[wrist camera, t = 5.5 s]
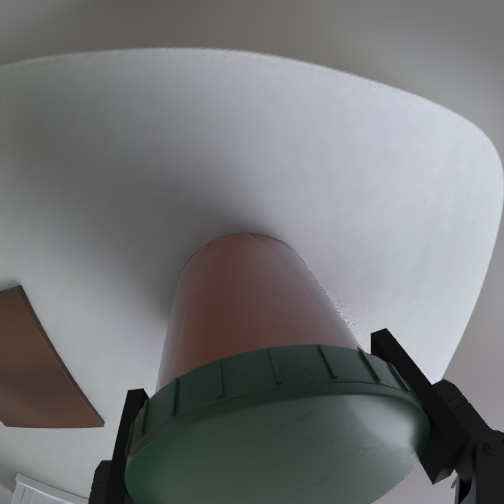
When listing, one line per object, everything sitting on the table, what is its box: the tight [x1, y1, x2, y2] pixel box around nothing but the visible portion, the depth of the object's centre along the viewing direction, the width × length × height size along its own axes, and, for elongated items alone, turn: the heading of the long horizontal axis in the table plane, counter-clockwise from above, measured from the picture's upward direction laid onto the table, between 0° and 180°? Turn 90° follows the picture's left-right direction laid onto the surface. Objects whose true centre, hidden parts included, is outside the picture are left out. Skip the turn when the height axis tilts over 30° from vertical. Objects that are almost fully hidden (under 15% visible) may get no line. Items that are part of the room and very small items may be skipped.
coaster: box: [0, 286, 105, 428], centre depth 20 cm, size 14×14×1 cm
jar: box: [155, 234, 363, 393], centre depth 14 cm, size 9×9×13 cm
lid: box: [124, 344, 430, 504], centre depth 9 cm, size 10×10×2 cm
